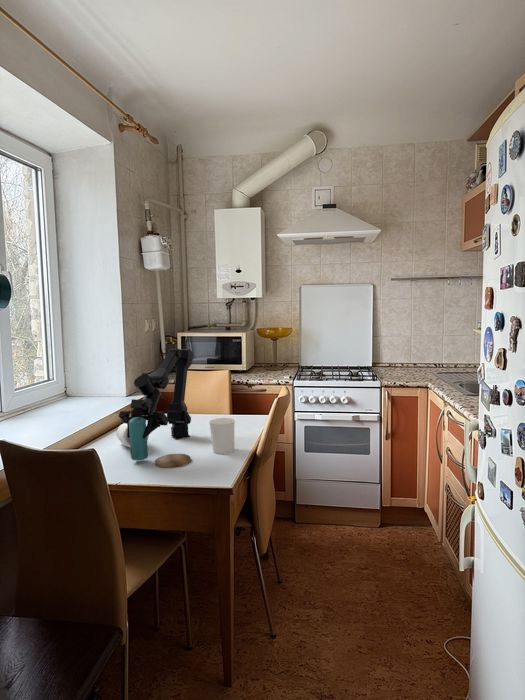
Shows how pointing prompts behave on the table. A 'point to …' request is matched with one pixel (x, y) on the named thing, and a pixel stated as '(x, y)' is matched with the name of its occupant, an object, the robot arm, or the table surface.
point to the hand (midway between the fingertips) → (135, 437)
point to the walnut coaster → (172, 460)
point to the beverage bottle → (138, 436)
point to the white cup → (222, 435)
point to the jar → (124, 435)
